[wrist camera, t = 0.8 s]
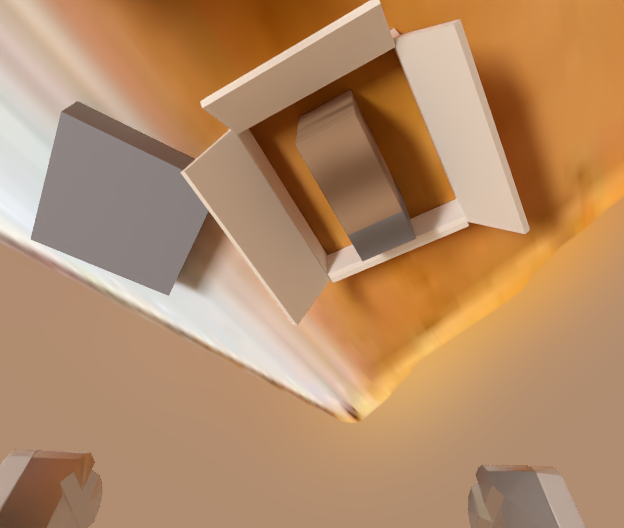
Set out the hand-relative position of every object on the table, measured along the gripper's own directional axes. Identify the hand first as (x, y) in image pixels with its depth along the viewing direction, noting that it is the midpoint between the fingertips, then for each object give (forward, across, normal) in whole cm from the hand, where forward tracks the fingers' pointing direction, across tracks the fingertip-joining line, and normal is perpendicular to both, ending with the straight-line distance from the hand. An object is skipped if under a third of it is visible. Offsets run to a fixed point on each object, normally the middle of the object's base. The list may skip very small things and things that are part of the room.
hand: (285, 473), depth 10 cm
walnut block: (+36, -4, +6) cm, 37 cm away
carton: (+36, -3, +5) cm, 37 cm away
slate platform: (+36, +17, +11) cm, 42 cm away
